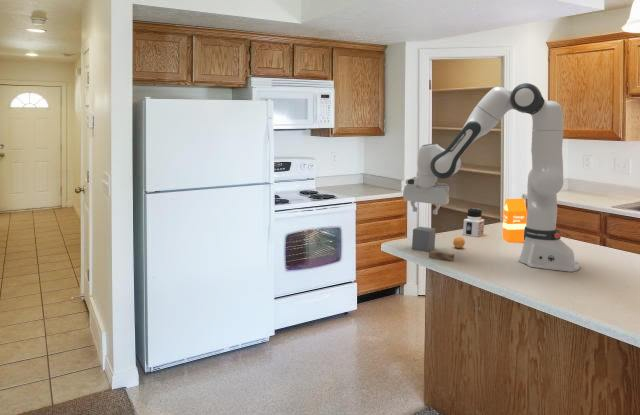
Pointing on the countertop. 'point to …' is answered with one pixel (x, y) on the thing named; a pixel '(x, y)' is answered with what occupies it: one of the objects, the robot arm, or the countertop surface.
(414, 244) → the matte gray box
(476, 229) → the container
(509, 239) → the orange juice
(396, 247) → the countertop surface
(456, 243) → the ball
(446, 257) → the bar
